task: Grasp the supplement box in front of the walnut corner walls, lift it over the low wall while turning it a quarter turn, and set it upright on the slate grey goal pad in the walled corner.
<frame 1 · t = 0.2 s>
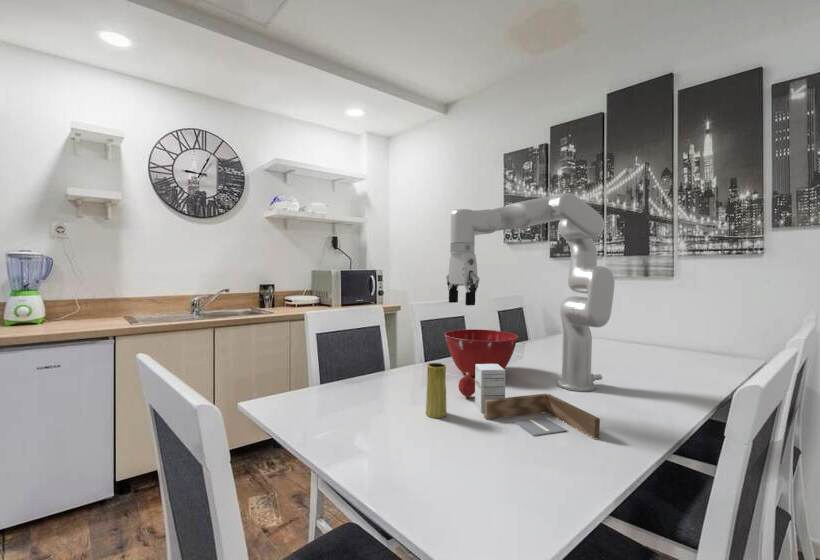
hand: (461, 303, 130), 30 cm above the table, tool pointing down, fingers open, 9 cm apart
supplement box: (489, 409, 123), on the table
goal pad: (538, 426, 110), on the table
corner arena: (537, 428, 108), on the table
mixing bowl: (480, 373, 163), on the table
vase: (436, 415, 118), on the table
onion: (467, 398, 133), on the table
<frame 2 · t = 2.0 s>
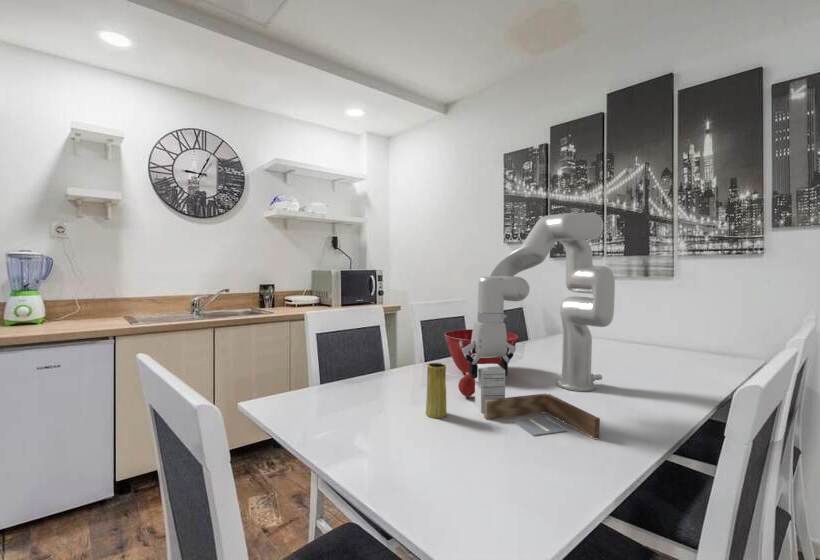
hand: (488, 376, 122), 10 cm above the table, tool pointing down, fingers open, 9 cm apart
nothing on the table moved.
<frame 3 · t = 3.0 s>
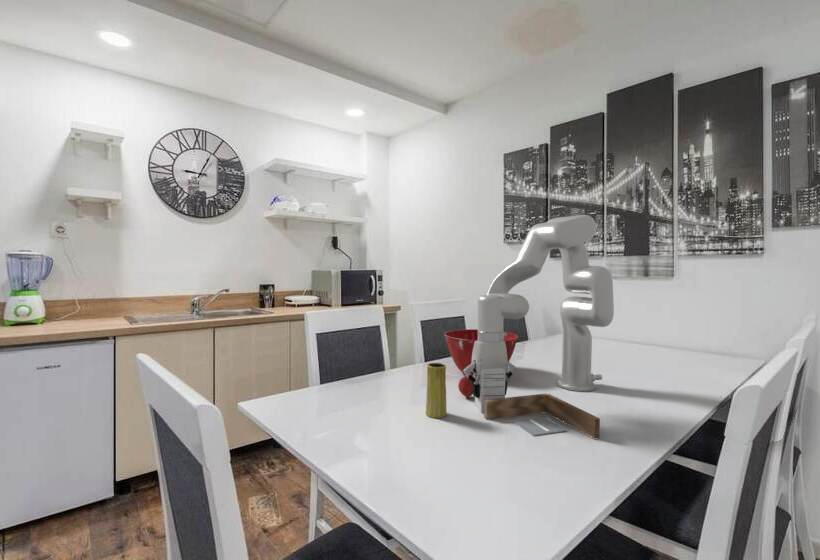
hand: (489, 395, 123), 4 cm above the table, tool pointing down, fingers closed on supplement box, 8 cm apart
supplement box: (489, 409, 123), on the table, touching gripper
everything else where it was.
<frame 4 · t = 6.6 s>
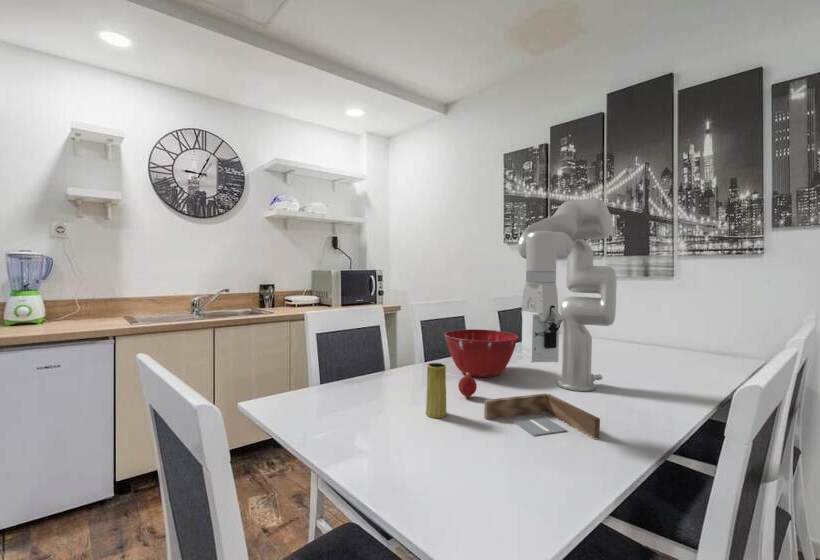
hand: (539, 344, 109), 22 cm above the table, tool pointing down, fingers closed on supplement box, 8 cm apart
supplement box: (539, 360, 109), point 18 cm above the table, touching gripper
everything else where it was.
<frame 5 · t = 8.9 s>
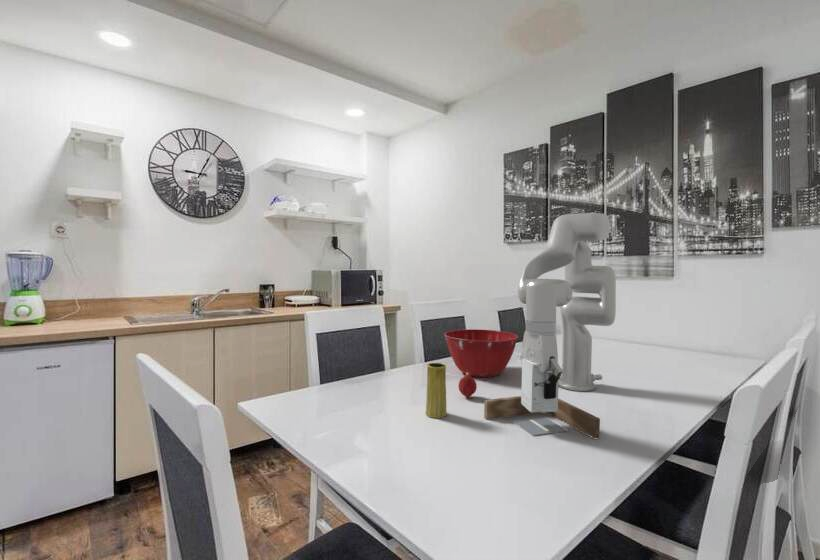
hand: (539, 392, 109), 9 cm above the table, tool pointing down, fingers closed on supplement box, 8 cm apart
supplement box: (539, 408, 109), point 5 cm above the table, touching gripper
everything else where it was.
when the fingers open (6 cm above the table, at t = 10.3 s): supplement box drops 1 cm, resting on goal pad.
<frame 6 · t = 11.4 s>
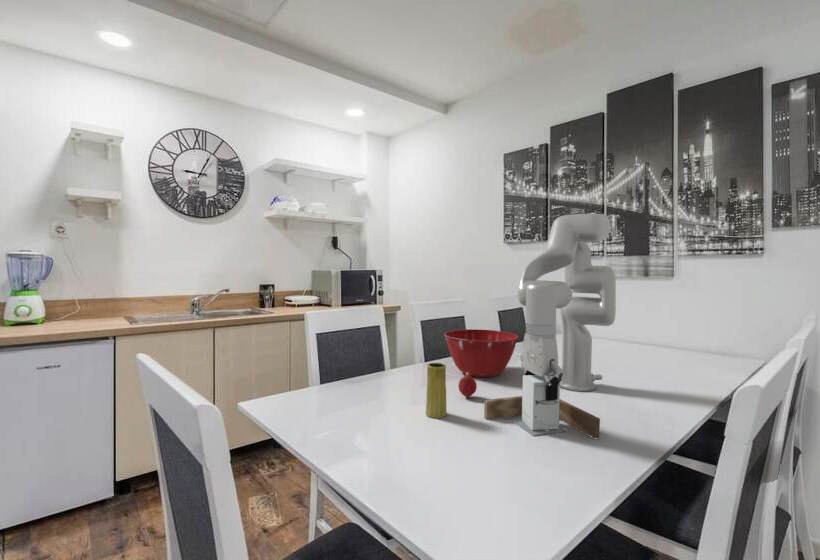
hand: (540, 393, 110), 9 cm above the table, tool pointing down, fingers open, 9 cm apart
supplement box: (539, 425, 110), resting on goal pad, touching gripper
everything else where it was.
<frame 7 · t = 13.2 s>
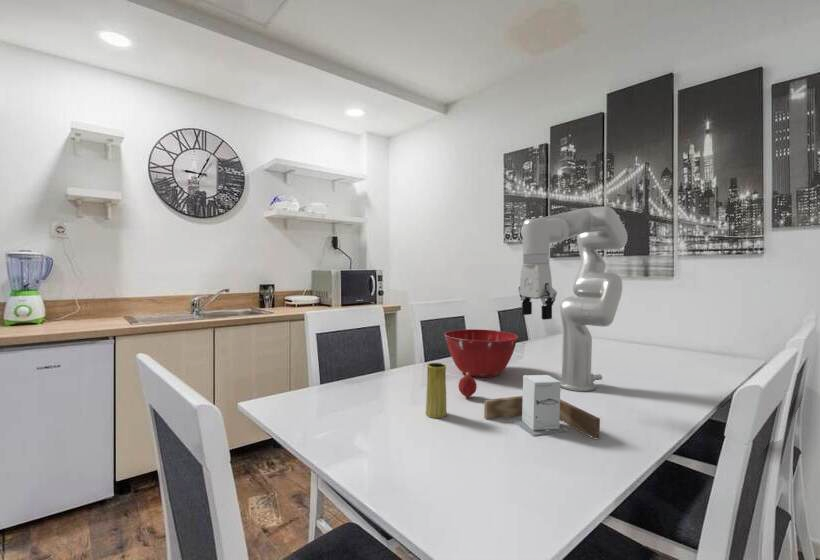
hand: (536, 316, 125), 27 cm above the table, tool pointing down, fingers open, 9 cm apart
supplement box: (540, 425, 110), resting on goal pad
everything else where it was.
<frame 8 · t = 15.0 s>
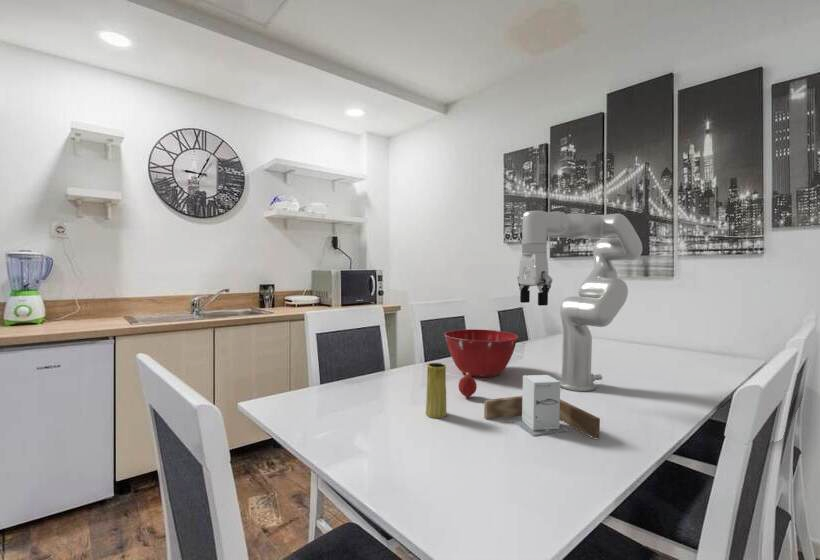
hand: (533, 303, 132), 30 cm above the table, tool pointing down, fingers open, 9 cm apart
nothing on the table moved.
at the end: supplement box 0.4 cm off-centre on the goal pad, point 0.1 cm above the goal pad's base; supplement box tilted 0°; the gripper is holding nothing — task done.
